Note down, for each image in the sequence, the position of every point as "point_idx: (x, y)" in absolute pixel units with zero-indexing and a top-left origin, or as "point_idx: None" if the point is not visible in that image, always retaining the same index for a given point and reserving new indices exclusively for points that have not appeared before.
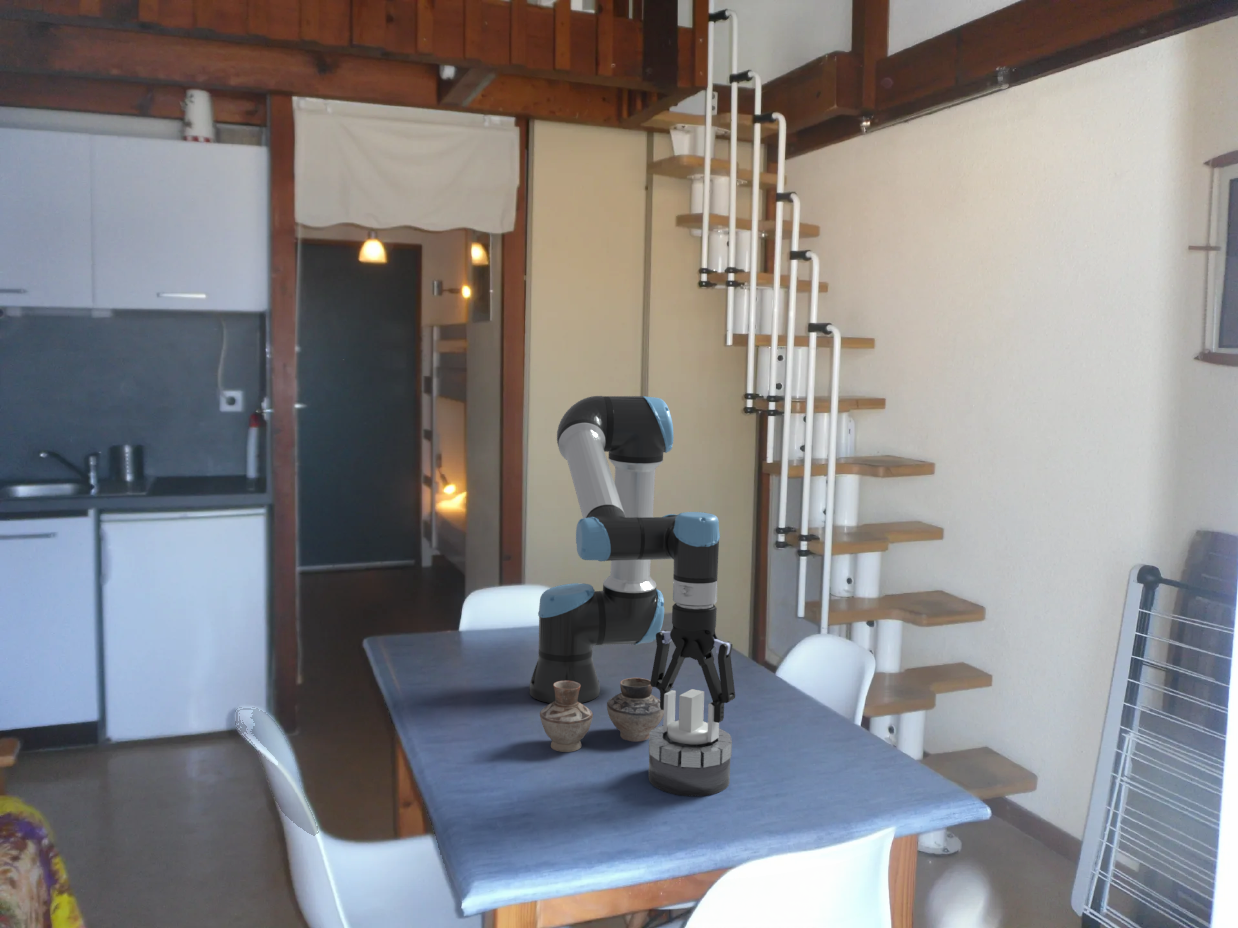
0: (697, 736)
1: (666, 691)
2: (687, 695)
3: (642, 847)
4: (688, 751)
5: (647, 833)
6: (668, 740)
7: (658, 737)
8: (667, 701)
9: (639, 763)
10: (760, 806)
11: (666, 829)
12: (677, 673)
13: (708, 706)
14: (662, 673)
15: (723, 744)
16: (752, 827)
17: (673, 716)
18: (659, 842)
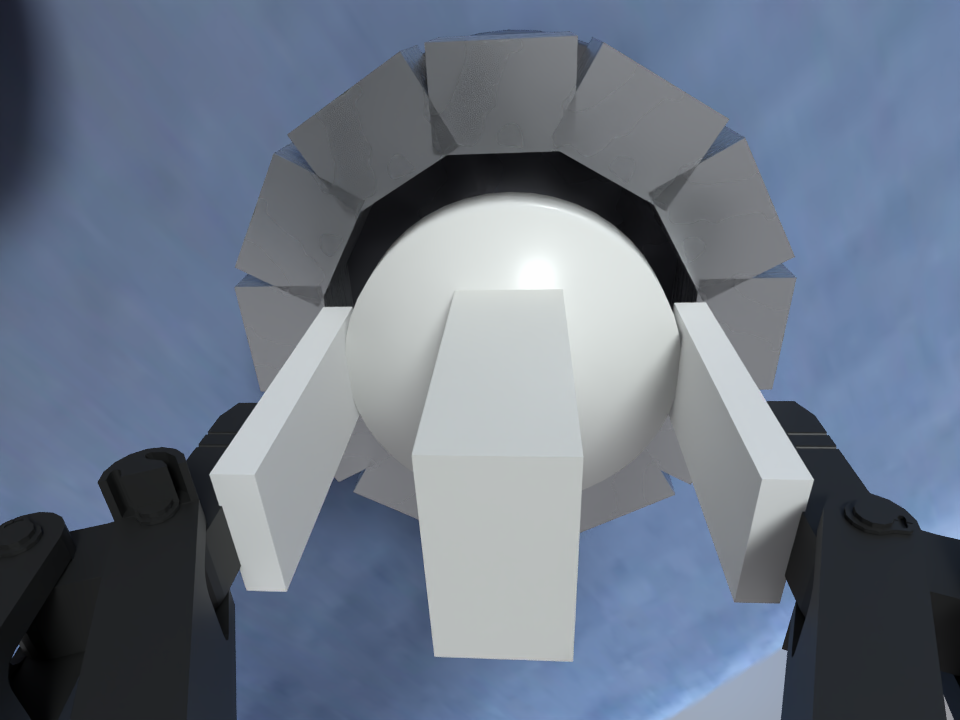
0: (619, 464)
1: (234, 573)
2: (497, 627)
3: (634, 683)
4: (606, 508)
5: (607, 632)
6: (344, 282)
7: (363, 442)
8: (304, 540)
9: (229, 230)
10: (910, 304)
11: (644, 596)
12: (196, 683)
13: (728, 581)
14: (4, 652)
15: (751, 323)
16: (911, 466)
17: (333, 363)
18: (662, 651)
